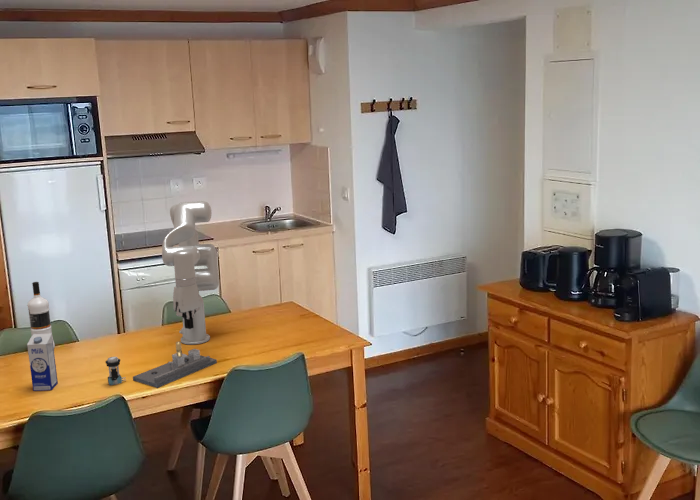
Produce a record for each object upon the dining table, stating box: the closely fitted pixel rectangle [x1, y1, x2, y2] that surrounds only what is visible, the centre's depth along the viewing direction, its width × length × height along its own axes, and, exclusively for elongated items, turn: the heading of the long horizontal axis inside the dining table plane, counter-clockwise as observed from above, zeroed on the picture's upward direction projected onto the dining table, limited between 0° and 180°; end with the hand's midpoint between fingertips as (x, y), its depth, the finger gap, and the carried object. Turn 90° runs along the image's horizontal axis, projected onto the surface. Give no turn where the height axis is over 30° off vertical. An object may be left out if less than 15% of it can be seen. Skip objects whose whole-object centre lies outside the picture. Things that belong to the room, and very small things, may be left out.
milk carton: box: [26, 333, 59, 392], centre depth 278 cm, size 7×7×20 cm
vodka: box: [26, 281, 56, 348], centre depth 319 cm, size 9×9×30 cm
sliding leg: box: [168, 341, 188, 369], centre depth 290 cm, size 9×3×11 cm, turn 54°
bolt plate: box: [132, 348, 218, 389], centre depth 291 cm, size 14×30×6 cm, turn 144°
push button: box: [105, 356, 127, 386], centre depth 281 cm, size 7×5×10 cm
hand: (189, 327), depth 291 cm, fingers closed
